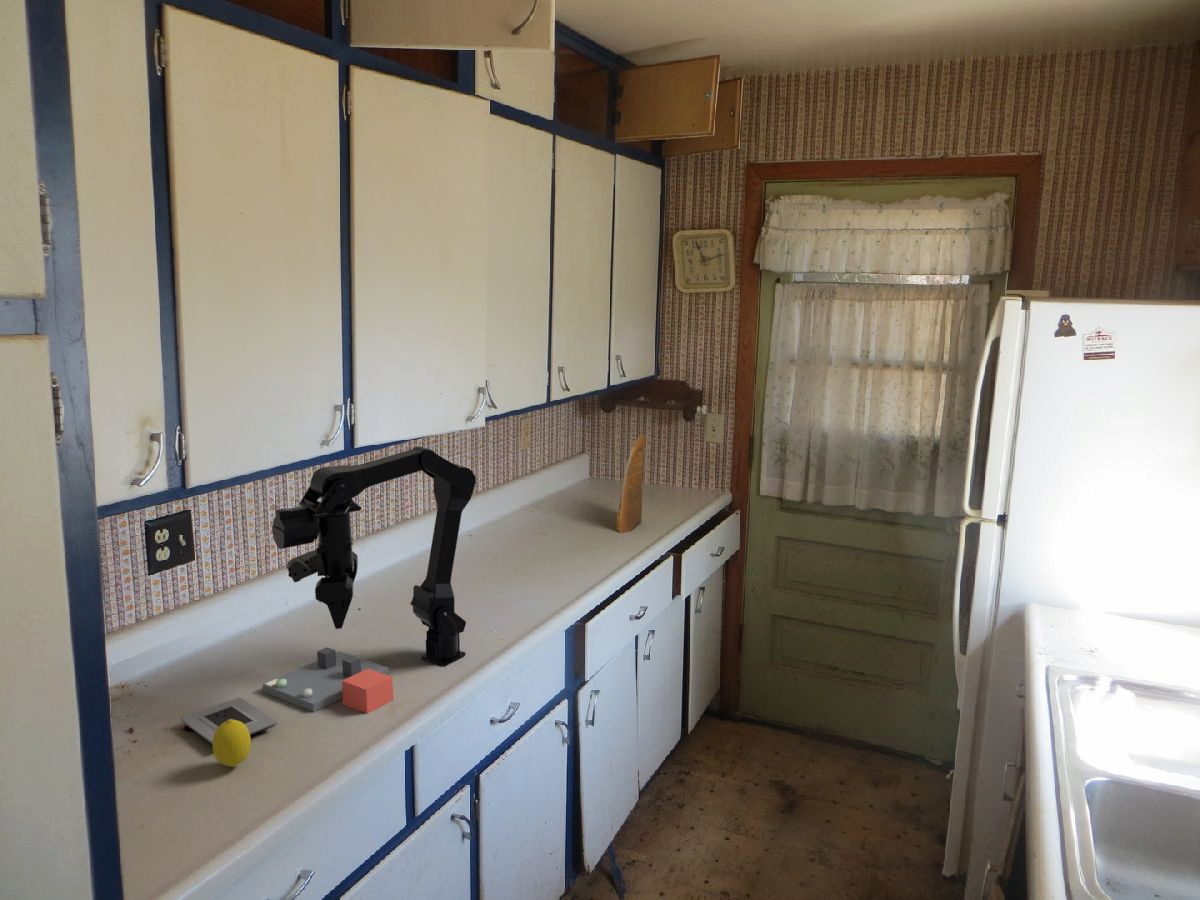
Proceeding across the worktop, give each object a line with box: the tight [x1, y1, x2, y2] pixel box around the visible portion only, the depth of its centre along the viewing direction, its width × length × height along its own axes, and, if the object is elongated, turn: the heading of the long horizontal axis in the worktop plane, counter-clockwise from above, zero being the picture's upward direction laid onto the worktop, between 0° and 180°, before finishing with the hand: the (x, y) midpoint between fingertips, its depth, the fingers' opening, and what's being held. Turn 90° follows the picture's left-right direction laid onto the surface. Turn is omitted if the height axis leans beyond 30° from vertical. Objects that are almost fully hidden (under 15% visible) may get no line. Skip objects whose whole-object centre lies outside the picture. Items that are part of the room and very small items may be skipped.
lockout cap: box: [342, 669, 394, 714], centre depth 164 cm, size 6×6×4 cm
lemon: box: [212, 719, 252, 768], centre depth 142 cm, size 6×6×8 cm
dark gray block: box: [316, 646, 337, 669], centre depth 175 cm, size 2×2×3 cm
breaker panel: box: [262, 650, 390, 713], centre depth 171 cm, size 18×14×2 cm
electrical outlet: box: [179, 697, 278, 746], centre depth 154 cm, size 13×10×2 cm
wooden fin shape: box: [616, 432, 647, 533], centre depth 276 cm, size 7×19×28 cm, turn 160°
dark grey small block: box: [342, 655, 362, 677], centre depth 171 cm, size 2×2×3 cm
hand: (340, 618), depth 167 cm, fingers open, 9 cm apart
